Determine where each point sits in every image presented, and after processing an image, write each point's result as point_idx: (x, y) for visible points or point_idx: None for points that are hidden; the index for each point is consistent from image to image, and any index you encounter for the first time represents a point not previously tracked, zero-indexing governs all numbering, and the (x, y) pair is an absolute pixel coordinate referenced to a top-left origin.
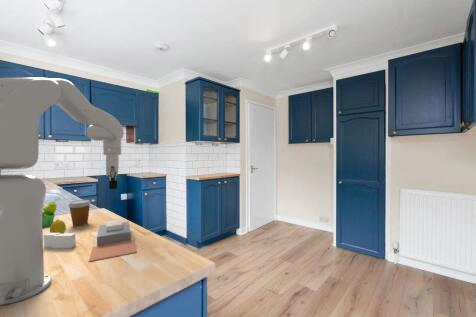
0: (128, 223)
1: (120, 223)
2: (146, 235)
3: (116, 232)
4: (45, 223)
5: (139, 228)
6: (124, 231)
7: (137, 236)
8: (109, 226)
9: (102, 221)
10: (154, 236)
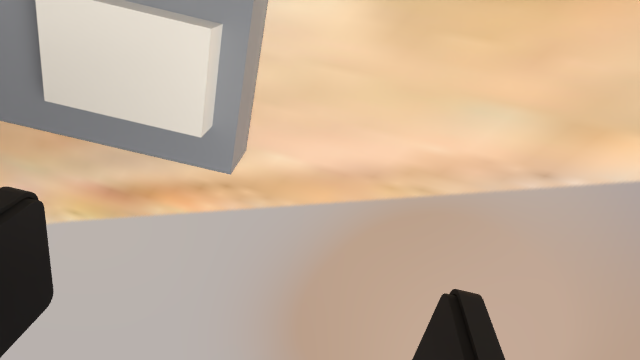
0: (180, 158)
1: (76, 98)
2: (85, 189)
3: (3, 41)
4: None
5: (231, 201)
6: (6, 89)
7: (92, 150)
8: (37, 11)
9: (617, 51)
10: (51, 212)
